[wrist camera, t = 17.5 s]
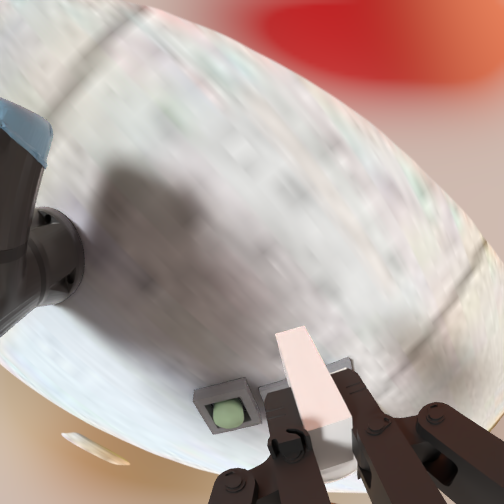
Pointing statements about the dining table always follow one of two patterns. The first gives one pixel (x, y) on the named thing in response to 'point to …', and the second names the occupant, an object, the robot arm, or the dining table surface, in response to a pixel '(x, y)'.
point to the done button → (228, 413)
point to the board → (283, 384)
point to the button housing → (222, 393)
